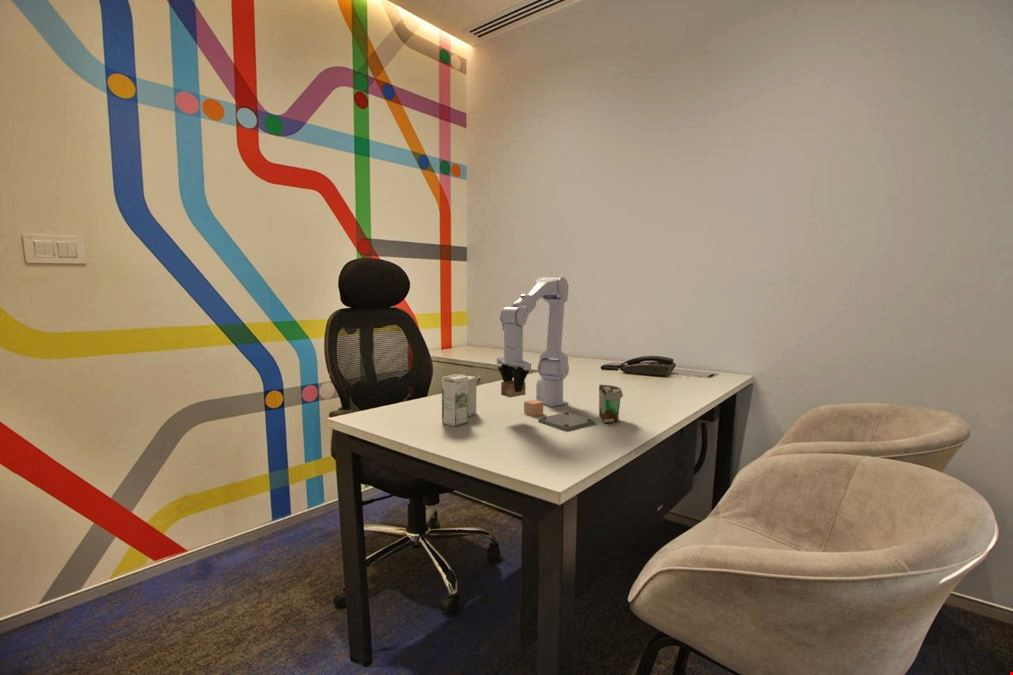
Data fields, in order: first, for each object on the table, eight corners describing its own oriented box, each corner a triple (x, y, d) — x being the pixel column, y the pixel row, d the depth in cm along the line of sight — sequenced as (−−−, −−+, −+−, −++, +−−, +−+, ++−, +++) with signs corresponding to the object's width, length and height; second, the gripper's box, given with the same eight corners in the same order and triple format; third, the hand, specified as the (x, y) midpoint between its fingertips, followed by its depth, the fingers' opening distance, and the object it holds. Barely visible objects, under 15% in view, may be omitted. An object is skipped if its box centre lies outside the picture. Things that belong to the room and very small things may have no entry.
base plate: (538, 421, 148) (538, 416, 148) (566, 415, 156) (566, 410, 156) (566, 431, 139) (566, 425, 139) (594, 423, 146) (594, 418, 146)
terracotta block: (524, 413, 158) (524, 401, 158) (534, 411, 161) (534, 399, 160) (532, 416, 155) (533, 404, 154) (543, 414, 157) (543, 402, 157)
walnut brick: (501, 394, 149) (501, 382, 149) (516, 392, 153) (516, 379, 152) (510, 397, 146) (510, 384, 145) (525, 394, 149) (525, 381, 149)
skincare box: (465, 411, 160) (464, 375, 159) (477, 413, 158) (477, 376, 157) (455, 416, 155) (455, 378, 153) (468, 417, 153) (468, 379, 151)
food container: (626, 426, 144) (627, 393, 143) (605, 426, 144) (606, 392, 143) (617, 414, 156) (618, 384, 155) (598, 414, 156) (599, 384, 155)
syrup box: (455, 419, 151) (454, 373, 149) (468, 422, 147) (468, 375, 146) (441, 423, 146) (440, 376, 145) (455, 427, 143) (454, 378, 141)
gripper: (488, 344, 151) (489, 387, 152) (518, 349, 139) (518, 396, 141) (506, 343, 155) (506, 384, 157) (536, 347, 144) (536, 393, 145)
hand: (513, 390), depth 149 cm, fingers closed on walnut brick, 4 cm apart
